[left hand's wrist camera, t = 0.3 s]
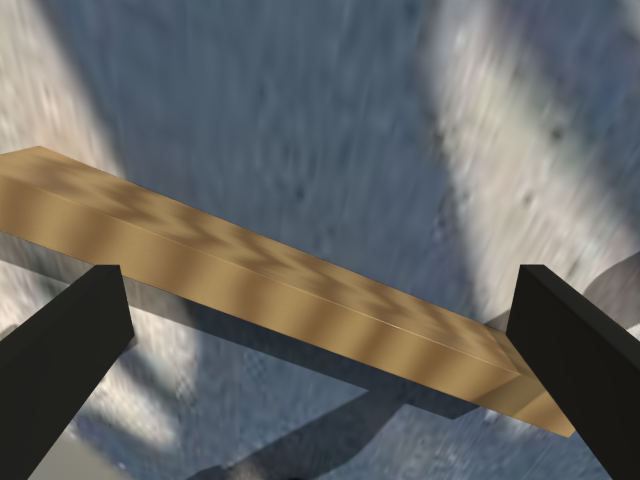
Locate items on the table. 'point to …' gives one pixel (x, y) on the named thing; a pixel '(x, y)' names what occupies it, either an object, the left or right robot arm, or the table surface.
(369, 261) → the table surface
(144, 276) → the beam
